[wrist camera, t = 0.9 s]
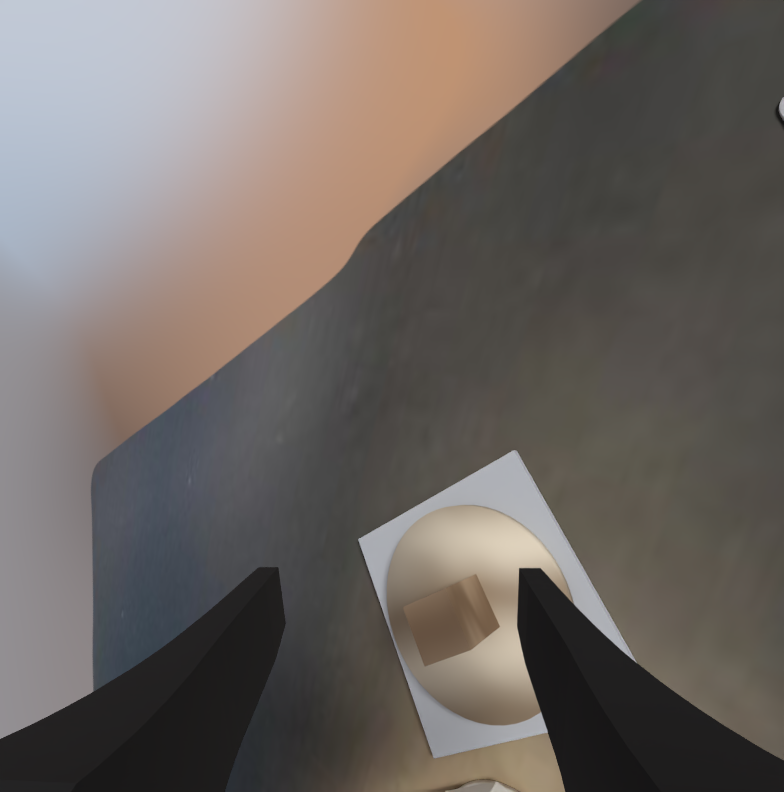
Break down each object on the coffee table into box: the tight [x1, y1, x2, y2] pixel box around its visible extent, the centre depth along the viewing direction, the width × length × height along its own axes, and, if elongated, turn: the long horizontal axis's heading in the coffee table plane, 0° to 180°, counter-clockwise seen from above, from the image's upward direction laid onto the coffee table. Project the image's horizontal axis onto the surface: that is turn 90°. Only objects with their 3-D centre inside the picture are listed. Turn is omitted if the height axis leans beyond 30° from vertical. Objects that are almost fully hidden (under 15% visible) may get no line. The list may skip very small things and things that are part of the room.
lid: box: [387, 505, 574, 726], centre depth 24 cm, size 12×12×5 cm
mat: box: [358, 450, 637, 758], centre depth 26 cm, size 14×14×1 cm
